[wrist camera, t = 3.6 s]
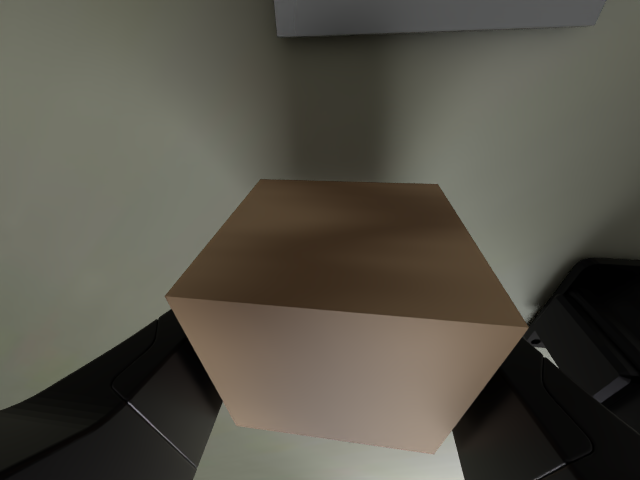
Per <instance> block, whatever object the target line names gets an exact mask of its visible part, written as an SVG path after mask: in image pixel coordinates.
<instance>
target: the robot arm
mask: <svg viewBox="0 0 640 480" xmlns="http://www.w3.org/2000/svg"><path fill="white" fill-rule="evenodd" d="M534 347H541V348H546V349H547V350H548V352H549V353H550V355H551V357H552V358H553V360H554V361H555V363H556V364H557V366H558V367H559V368H558V367H556V366H555V365H554V364H553V363H552V362H551V361H550V360H548V359H547V358H546V357H543V355H542V354H541V353H540V352H539V351H538V350H537V349H536V348H534ZM222 402H223V400H222V399H221V397H220V395H219V393H218V391H217V390H216V388H215V386H214V384H213V382H212V381H211V379H210V377H209V375H208V373H207V372H206V370H205V368H204V366H203V364H202V363H201V361H200V359H199V357H198V355H197V354H196V352H195V350H194V348H193V346H192V345H191V343H190V341H189V339H188V337H187V336H186V334H185V332H184V330H183V328H182V327H181V325H180V323H179V321H178V319H177V318H176V316H175V314H174V312H173V310H172V309H171V310H169V311H168V312H166V313H165V314H163V315H162V316H160V317H159V319H158V320H157V319H156V320H155V321H153V322H152V323H150V324H149V325H147V326H146V327H144V328H143V329H141V330H140V331H139V332H137V333H136V334H134V335H133V336H131V337H130V338H128V339H127V340H125V341H123V342H122V343H120V344H119V345H117V346H115V347H114V348H112V349H111V350H109V351H107V352H106V353H104V354H103V355H101V356H99V357H98V358H96V359H94V360H93V361H91V362H90V363H88V364H86V365H85V366H83V367H81V368H80V369H78V370H76V371H75V372H73V373H71V374H70V375H68V376H66V377H65V378H63V379H61V380H60V381H58V382H56V383H55V384H53V385H52V386H50V387H48V388H47V389H45V390H43V391H41V392H40V393H38V394H36V395H34V396H33V397H31V398H29V399H27V400H24V401H22V402H20V403H18V404H16V405H13V406H11V407H8V408H6V409H3V410H0V480H193V478H194V476H195V473H196V470H197V467H198V465H199V462H200V459H201V457H202V454H203V452H204V449H205V446H206V444H207V441H208V439H209V436H210V433H211V431H212V428H213V426H214V423H215V420H216V418H217V415H218V413H219V410H220V407H221V405H222ZM452 432H453V436H454V439H455V443H456V447H457V451H458V455H459V459H460V463H461V467H462V471H463V475H464V479H465V480H640V260H623V259H605V258H588V259H584V260H582V261H580V262H578V263H577V264H576V265H575V266H574V268H573V269H572V270H571V272H570V273H569V274H568V276H567V277H566V278H565V280H564V281H563V282H562V284H561V285H560V286H559V288H558V289H557V290H556V292H555V293H554V294H553V296H552V297H551V298H550V300H549V301H548V302H547V304H546V305H545V306H544V308H543V309H542V310H541V312H540V313H539V314H538V316H537V317H536V318H535V320H534V321H533V322H532V324H531V325H530V326H529V328H528V330H527V331H526V332H525V334H524V335H523V336H522V338H521V339H520V340H519V342H518V343H517V344H516V346H515V347H514V348H513V350H512V351H511V352H510V354H509V355H508V356H507V358H506V359H505V360H504V362H503V363H502V364H501V366H500V367H499V368H498V370H497V371H496V372H495V374H494V375H493V376H492V378H491V379H490V380H489V382H488V383H487V384H486V386H485V387H484V388H483V390H482V391H481V392H480V394H479V395H478V396H477V398H476V399H475V400H474V402H473V403H472V404H471V406H470V407H469V408H468V410H467V411H466V412H465V414H464V415H463V416H462V418H461V419H460V420H459V422H458V423H457V424H456V426H455V427H454V428H453V430H452Z"/></svg>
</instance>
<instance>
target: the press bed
mask: <svg viewBox="0 0 640 480" xmlns="http://www.w3.org/2000/svg"><path fill="white" fill-rule="evenodd" d="M605 2H606V0H274V6H275V17H276V28H277V37H279V38H291V37H318V36H345V35H373V34H400V33H427V32H455V31H482V30H509V29H537V28H564V27H586V26H593V25H595V24H596V21H597V19H598V17H599V15H600V13H601V11H602V9H603V6H604V4H605Z"/></svg>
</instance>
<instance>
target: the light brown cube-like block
mask: <svg viewBox="0 0 640 480" xmlns="http://www.w3.org/2000/svg"><path fill="white" fill-rule="evenodd" d="M165 298H166V300H167V301H168V303H169V305H170V307H171V309H172V310H173V312H174V314H175V316H176V318H177V319H178V321H179V323H180V325H181V327H182V328H183V330H184V332H185V334H186V336H187V337H188V339H189V341H190V343H191V345H192V346H193V348H194V350H195V352H196V354H197V355H198V357H199V359H200V361H201V363H202V364H203V366H204V368H205V370H206V372H207V373H208V375H209V377H210V379H211V381H212V382H213V384H214V386H215V388H216V390H217V391H218V393H219V395H220V397H221V399H222V400H223V402H224V404H225V406H226V408H227V409H228V411H229V413H230V415H231V417H232V419H233V420H234V422H235V424H236V426H242V427H249V428H255V429H262V430H269V431H276V432H283V433H290V434H297V435H304V436H311V437H318V438H325V439H332V440H338V441H345V442H352V443H359V444H366V445H373V446H380V447H387V448H394V449H401V450H408V451H415V452H421V453H428V454H435V452H436V451H437V450H438V448H439V447H440V446H441V444H442V443H443V442H444V440H445V439H446V438H447V436H448V435H449V434H450V432H451V431H452V430H453V428H454V427H455V426H456V424H457V423H458V422H459V420H460V419H461V418H462V416H463V415H464V414H465V412H466V411H467V410H468V408H469V407H470V406H471V404H472V403H473V402H474V400H475V399H476V398H477V396H478V395H479V394H480V392H481V391H482V390H483V388H484V387H485V386H486V384H487V383H488V382H489V380H490V379H491V378H492V376H493V375H494V374H495V372H496V371H497V370H498V368H499V367H500V366H501V364H502V363H503V362H504V360H505V359H506V358H507V356H508V355H509V354H510V352H511V351H512V350H513V348H514V347H515V346H516V344H517V343H518V342H519V340H520V339H521V338H522V336H523V335H524V334H525V332H526V331H527V330H528V328H529V327H528V325H527V324H526V322H525V321H524V319H523V317H522V316H521V314H520V313H519V311H518V310H517V308H516V306H515V305H514V303H513V302H512V300H511V299H510V297H509V295H508V294H507V292H506V291H505V289H504V288H503V286H502V284H501V283H500V281H499V280H498V278H497V276H496V275H495V273H494V272H493V270H492V269H491V267H490V265H489V264H488V262H487V261H486V259H485V258H484V256H483V254H482V253H481V251H480V250H479V248H478V247H477V245H476V243H475V242H474V240H473V239H472V237H471V235H470V234H469V232H468V231H467V229H466V228H465V226H464V224H463V223H462V221H461V220H460V218H459V217H458V215H457V213H456V212H455V210H454V209H453V207H452V206H451V204H450V202H449V201H448V199H447V198H446V196H445V194H444V193H443V191H442V190H441V188H440V187H439V185H438V184H415V183H379V182H343V181H307V180H271V179H260V180H259V182H258V183H257V184H256V185H255V187H254V188H253V189H252V190H251V191H250V193H249V194H248V195H247V196H246V198H245V199H244V200H243V201H242V202H241V204H240V205H239V206H238V207H237V209H236V210H235V211H234V212H233V213H232V215H231V216H230V217H229V218H228V220H227V221H226V222H225V223H224V224H223V226H222V227H221V228H220V229H219V231H218V232H217V233H216V234H215V235H214V237H213V238H212V239H211V240H210V242H209V243H208V244H207V245H206V246H205V248H204V249H203V250H202V251H201V253H200V254H199V255H198V256H197V257H196V259H195V260H194V261H193V262H192V264H191V265H190V266H189V267H188V268H187V270H186V271H185V272H184V273H183V274H182V276H181V277H180V278H179V279H178V281H177V282H176V283H175V284H174V285H173V287H172V288H171V289H170V290H169V292H168V293H167V294H166V295H165Z"/></svg>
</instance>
